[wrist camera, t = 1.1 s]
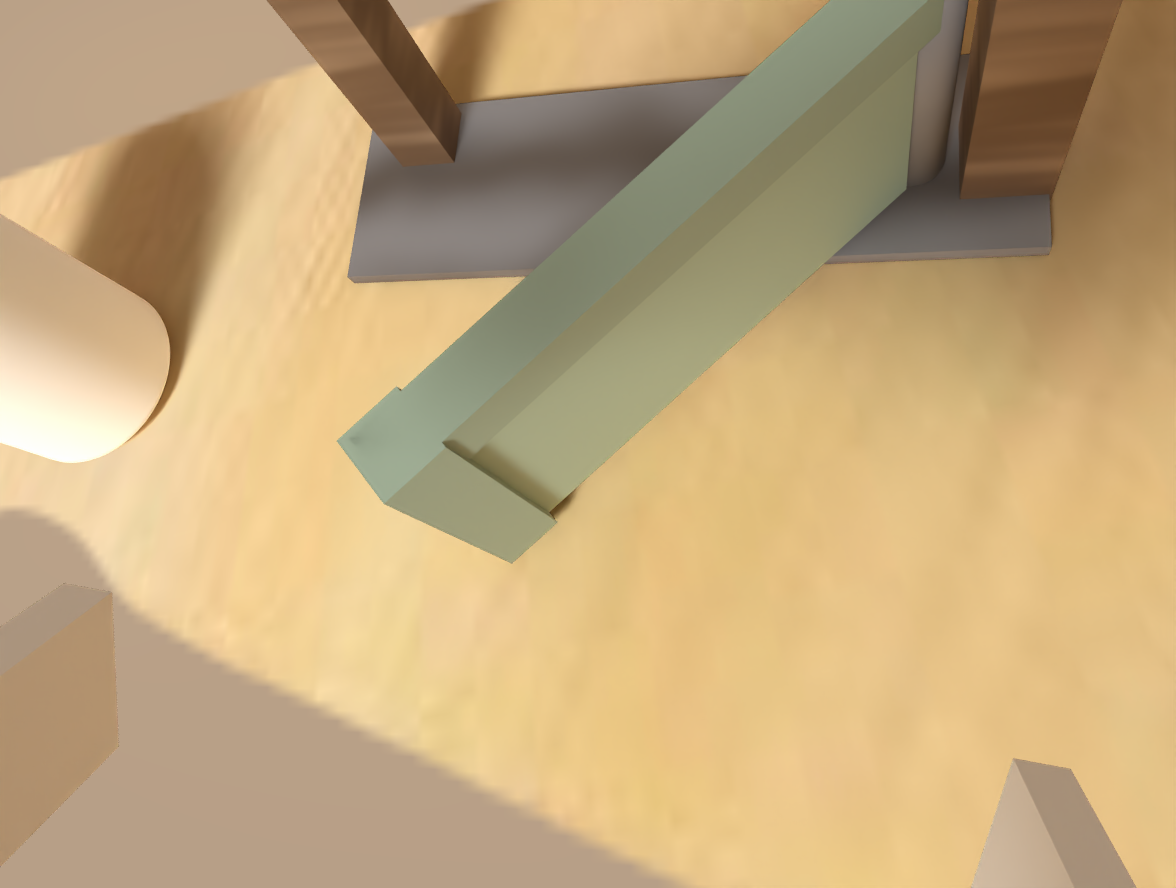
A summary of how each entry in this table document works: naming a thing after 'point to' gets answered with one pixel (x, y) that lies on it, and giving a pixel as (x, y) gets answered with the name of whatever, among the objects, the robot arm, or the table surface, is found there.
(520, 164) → the gate frame
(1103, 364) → the table surface
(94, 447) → the white cylinder
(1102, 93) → the table surface
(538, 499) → the gate
